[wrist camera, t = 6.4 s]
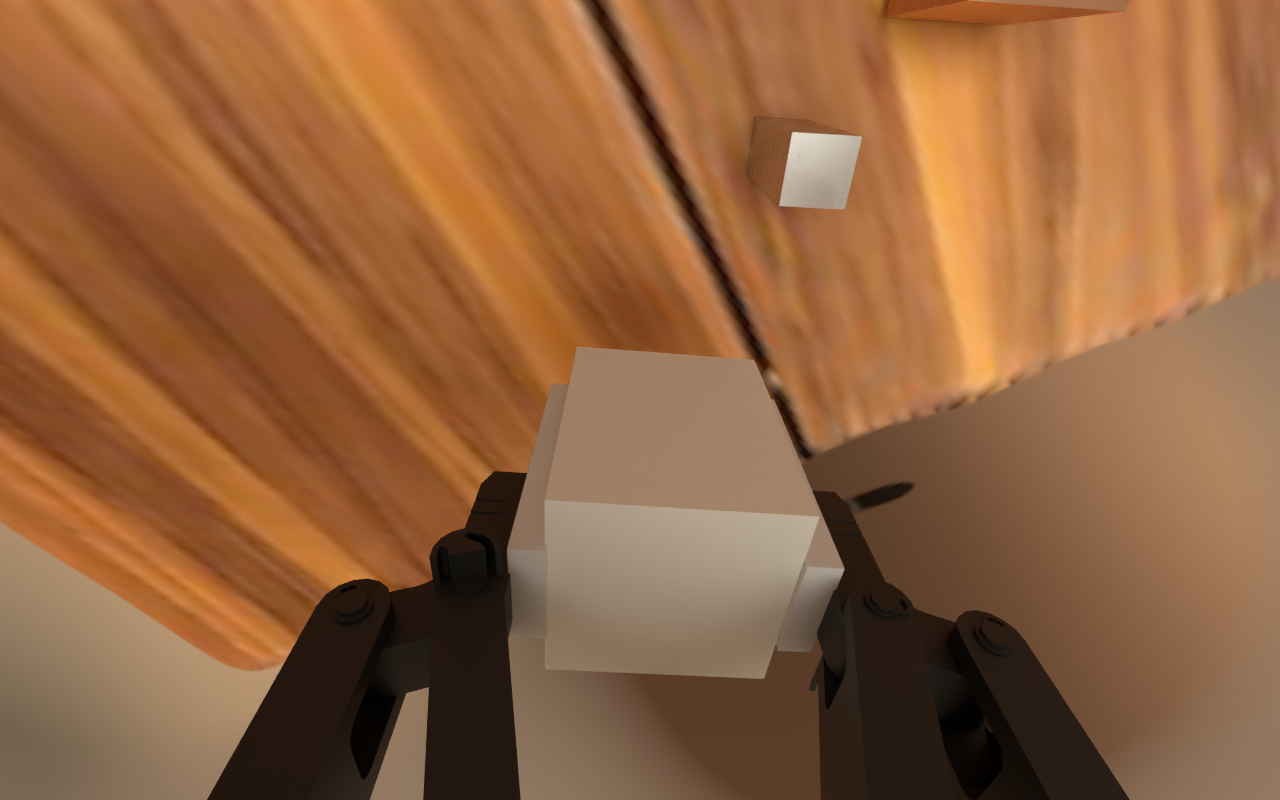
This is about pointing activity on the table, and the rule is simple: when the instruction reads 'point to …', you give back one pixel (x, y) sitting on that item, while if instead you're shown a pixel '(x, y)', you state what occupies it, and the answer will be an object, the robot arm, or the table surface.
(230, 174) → the table surface
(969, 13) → the tan brown block
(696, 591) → the cream sugar cube
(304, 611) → the table surface
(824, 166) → the post
